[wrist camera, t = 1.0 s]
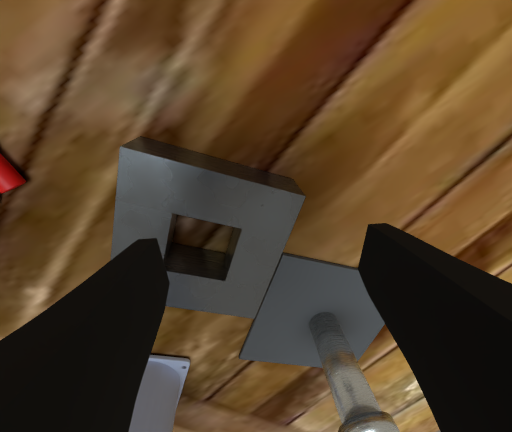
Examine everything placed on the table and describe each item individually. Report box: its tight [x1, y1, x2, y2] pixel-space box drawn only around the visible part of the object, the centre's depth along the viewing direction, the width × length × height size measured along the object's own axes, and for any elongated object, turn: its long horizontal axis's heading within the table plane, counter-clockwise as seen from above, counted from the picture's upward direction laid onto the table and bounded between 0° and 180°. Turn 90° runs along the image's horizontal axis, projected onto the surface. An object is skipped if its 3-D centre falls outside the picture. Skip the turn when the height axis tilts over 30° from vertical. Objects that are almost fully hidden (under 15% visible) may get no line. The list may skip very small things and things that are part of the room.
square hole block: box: [111, 136, 306, 319], centre depth 18 cm, size 11×11×4 cm
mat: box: [239, 252, 385, 368], centre depth 26 cm, size 14×14×1 cm
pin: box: [308, 312, 400, 432], centre depth 21 cm, size 4×4×10 cm
